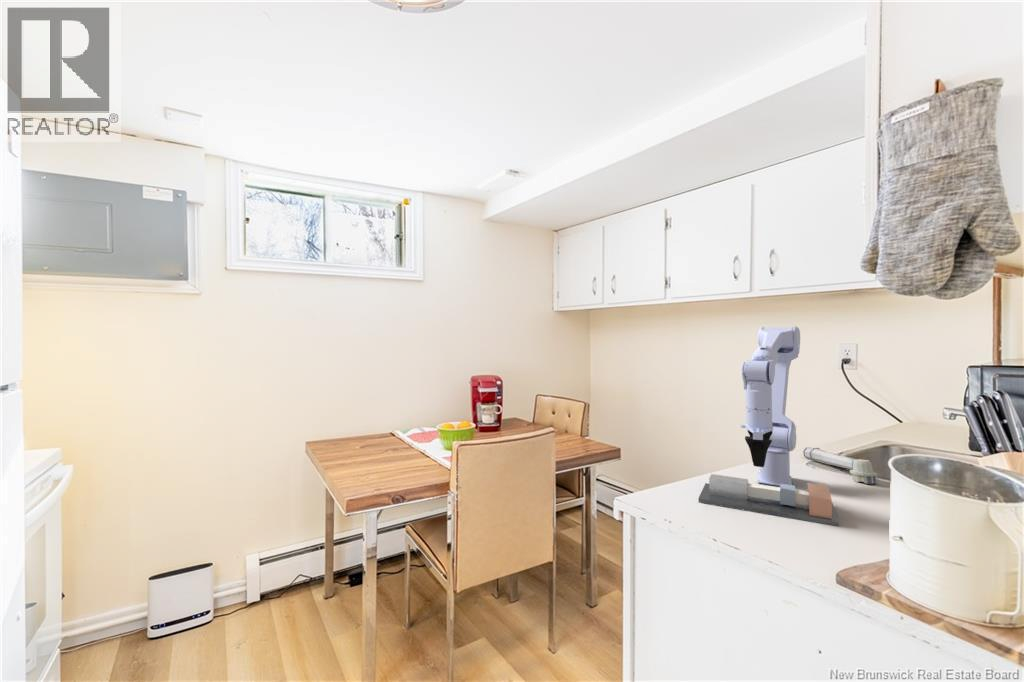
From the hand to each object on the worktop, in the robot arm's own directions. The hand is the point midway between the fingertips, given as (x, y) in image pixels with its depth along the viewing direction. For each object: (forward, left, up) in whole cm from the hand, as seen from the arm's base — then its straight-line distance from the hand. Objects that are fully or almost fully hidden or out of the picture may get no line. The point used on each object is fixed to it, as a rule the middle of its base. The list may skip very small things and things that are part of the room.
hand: (759, 462), depth 109 cm
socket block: (+3, +12, -8) cm, 15 cm away
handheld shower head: (-35, +19, -10) cm, 41 cm away
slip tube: (+3, +4, -8) cm, 9 cm away
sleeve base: (+3, +1, -9) cm, 10 cm away
